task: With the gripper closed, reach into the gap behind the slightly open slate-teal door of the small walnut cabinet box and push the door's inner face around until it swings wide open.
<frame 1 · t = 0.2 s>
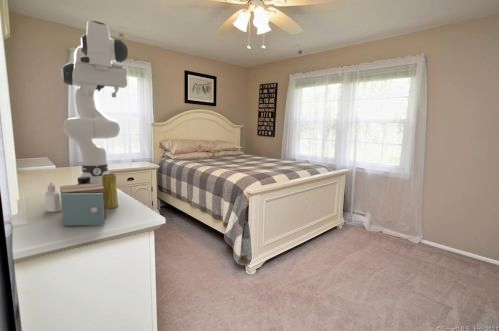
hand: (101, 96, 113), 48 cm above the table, tool pointing down, fingers open, 8 cm apart
eye dropper bottle: (53, 211, 108), on the table
door: (82, 209, 91), point 6 cm above the table, hinge at 30.0°
vase: (110, 207, 116), on the table
cabinet box: (84, 217, 101), on the table
supplement bottle: (85, 203, 119), on the table
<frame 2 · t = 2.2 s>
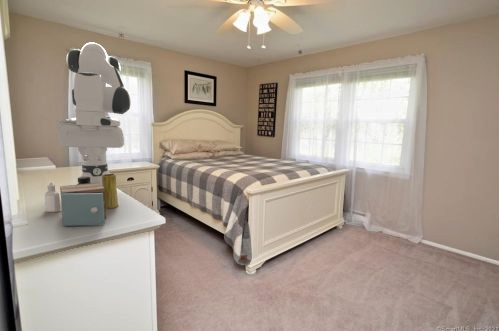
hand: (93, 160, 93), 23 cm above the table, tool pointing down, fingers open, 3 cm apart
nothing on the table moved.
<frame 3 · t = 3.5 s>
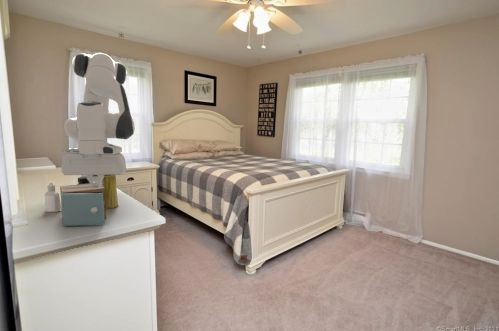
hand: (96, 187, 94), 13 cm above the table, tool pointing down, fingers closed
nothing on the table moved.
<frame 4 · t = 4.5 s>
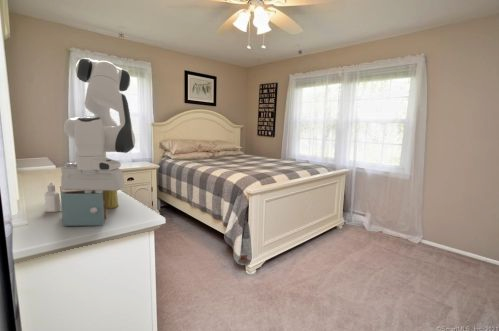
hand: (94, 202, 93), 8 cm above the table, tool pointing down, fingers closed
door: (82, 209, 91), point 6 cm above the table, hinge at 31.4°, touching gripper
everything else where it was.
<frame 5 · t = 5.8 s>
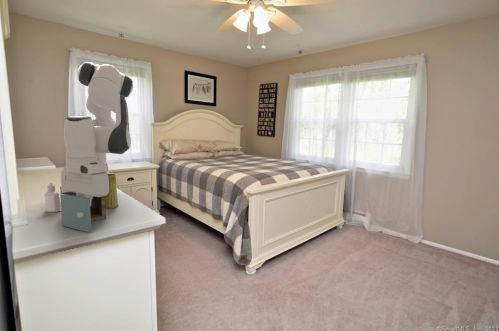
hand: (85, 206, 89), 8 cm above the table, tool pointing down, fingers closed
door: (74, 212, 88), point 6 cm above the table, hinge at 60.9°, touching gripper
everything else where it was.
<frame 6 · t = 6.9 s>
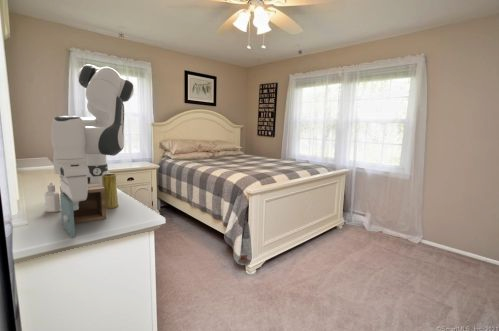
hand: (74, 208, 86), 8 cm above the table, tool pointing down, fingers closed
door: (65, 214, 86), point 6 cm above the table, hinge at 83.0°, touching gripper
everything else where it was.
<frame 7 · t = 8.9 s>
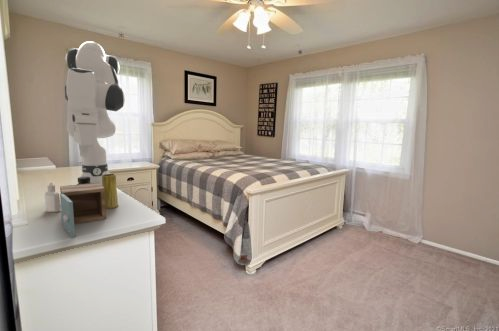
hand: (83, 156, 93), 24 cm above the table, tool pointing down, fingers closed
door: (65, 214, 86), point 6 cm above the table, hinge at 83.2°
everything else where it was.
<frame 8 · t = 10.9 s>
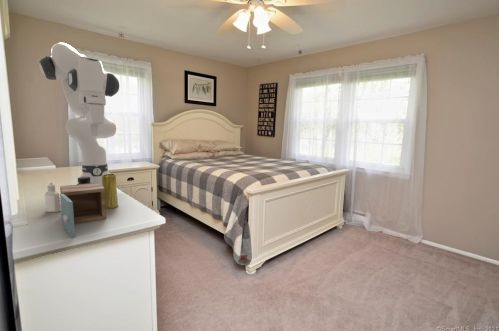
hand: (94, 135, 105), 31 cm above the table, tool pointing down, fingers closed
nothing on the table moved.
at the end: door at +83° (first picture: +30°); vase moved 0.2 cm from its start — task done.
